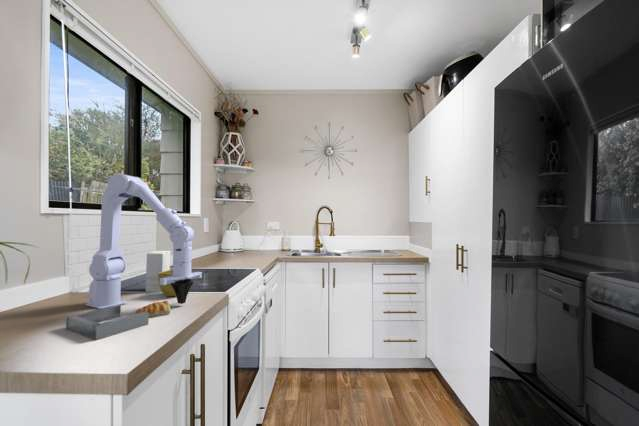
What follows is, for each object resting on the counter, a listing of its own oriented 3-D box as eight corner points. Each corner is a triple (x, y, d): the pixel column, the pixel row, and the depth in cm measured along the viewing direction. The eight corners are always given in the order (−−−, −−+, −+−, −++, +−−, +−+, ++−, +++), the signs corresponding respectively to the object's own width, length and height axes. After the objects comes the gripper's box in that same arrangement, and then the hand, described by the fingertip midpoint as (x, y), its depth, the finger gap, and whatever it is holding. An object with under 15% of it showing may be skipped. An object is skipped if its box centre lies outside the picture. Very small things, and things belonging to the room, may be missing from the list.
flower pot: (156, 297, 113) (156, 272, 113) (171, 291, 122) (172, 269, 122) (178, 298, 111) (178, 273, 112) (191, 292, 120) (192, 269, 120)
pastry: (137, 321, 87) (137, 308, 87) (132, 316, 92) (132, 303, 92) (172, 315, 93) (172, 302, 93) (166, 310, 98) (166, 298, 99)
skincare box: (154, 287, 128) (155, 250, 129) (170, 287, 129) (171, 250, 129) (144, 292, 120) (145, 252, 120) (162, 292, 121) (163, 252, 121)
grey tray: (65, 328, 80) (65, 316, 80) (117, 315, 92) (117, 304, 92) (96, 340, 73) (96, 326, 73) (148, 324, 84) (148, 312, 84)
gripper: (170, 265, 94) (169, 310, 94) (208, 260, 107) (207, 299, 106) (155, 263, 97) (155, 306, 97) (194, 258, 110) (193, 296, 110)
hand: (181, 302), depth 102 cm, fingers closed
